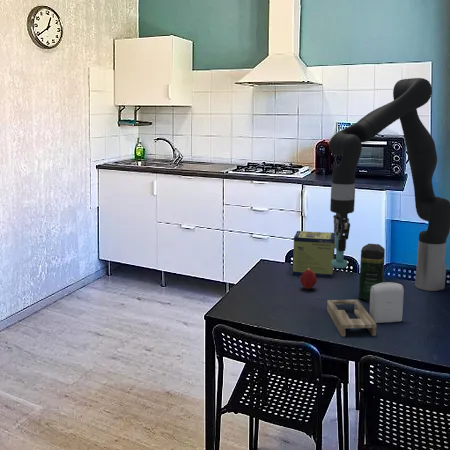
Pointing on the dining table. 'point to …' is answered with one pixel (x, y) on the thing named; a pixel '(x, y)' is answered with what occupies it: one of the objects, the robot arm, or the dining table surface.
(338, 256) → the peg
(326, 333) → the dining table surface
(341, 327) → the keyhole plate
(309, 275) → the red pomegranate
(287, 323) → the dining table surface
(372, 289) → the photo printer
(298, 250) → the protein box
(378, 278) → the coffee jar
